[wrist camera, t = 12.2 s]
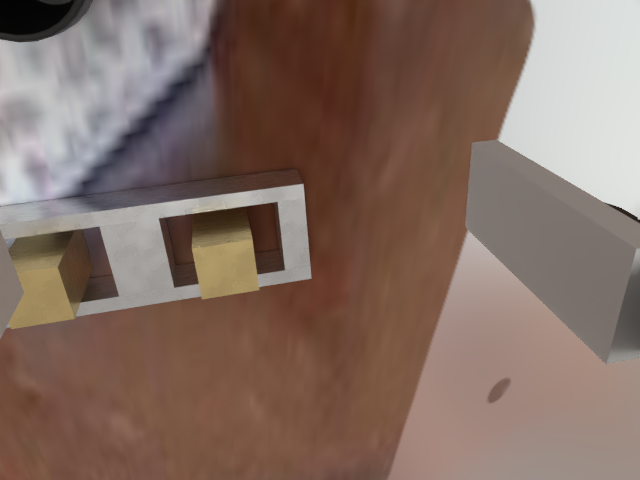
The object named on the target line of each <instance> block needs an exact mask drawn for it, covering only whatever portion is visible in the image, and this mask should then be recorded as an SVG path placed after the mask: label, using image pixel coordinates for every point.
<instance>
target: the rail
mask: <svg viewBox="0 0 640 480" xmlns="http://www.w3.org/2000/svg"><path fill="white" fill-rule="evenodd" d="M273 202H274V210H275V219H276V228H277V236H278V245H279V250H273V251H266V252H260V253H254V255H255V262H256V269H257V277H258V284H259V287H262V286H268V285H274V284H280V283H286V282H293V281H299V280H305V279H311V268H310V256H309V244H308V232H307V221H306V209H305V197H304V185H303V182H302V180H301V178H300V176H299V174H298V172H297V170H296V168H293V169H286V170H278V171H270V172H262V173H255V174H247V175H239V176H231V177H224V178H216V179H208V180H201V181H193V182H185V183H177V184H170V185H162V186H154V187H147V188H139V189H131V190H123V191H116V192H108V193H100V194H92V195H85V196H77V197H69V198H62V199H54V200H46V201H38V202H31V203H23V204H15V205H8V206H0V230H1V233H2V235H3V238H4V240H5V239H13V238H20V237H27V236H34V235H41V234H49V233H56V232H63V231H70V230H78V229H85V228H92V227H100V230H101V234H102V237H103V241H104V245H105V248H106V252H107V255H108V259H109V262H110V266H111V269H112V273H113V275H109V276H102V277H95V278H89V281H88V284H87V286H86V289H85V292H84V295H83V297H82V300H81V303H80V306H79V309H78V311H77V314H76V316H83V315H89V314H95V313H101V312H107V311H113V310H120V309H126V308H132V307H138V306H144V305H150V304H157V303H163V302H169V301H175V300H181V299H188V298H194V297H200V296H201V292H200V287H199V282H198V277H197V272H196V267H195V262H194V263H187V264H181V265H176V263H175V258H174V254H173V249H172V245H171V240H170V235H169V231H168V226H167V222H166V217H171V216H179V215H186V214H193V213H200V212H208V211H215V210H222V209H229V208H236V207H244V206H251V205H258V204H265V203H273ZM8 327H10V325H9V323H8V325H7V327H6V328H8Z"/></svg>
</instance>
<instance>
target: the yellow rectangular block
mask: <svg viewBox="0 0 640 480" xmlns="http://www.w3.org/2000/svg"><path fill="white" fill-rule="evenodd" d="M192 252H193V257H194V262H195V267H196V272H197V277H198V282H199V287H200V292H201V297H202V299H207V298H213V297H219V296H225V295H232V294H238V293H244V292H250V291H256V290H259V284H258V277H257V269H256V262H255V255H254V248H253V241H252V235H251V230H250V225H249V220H248V216H247V211H246V206H244V207H236V208H229V209H222V210H215V211H208V212H200V213H193V225H192Z"/></svg>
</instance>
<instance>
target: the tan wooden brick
mask: <svg viewBox="0 0 640 480" xmlns="http://www.w3.org/2000/svg"><path fill="white" fill-rule="evenodd" d="M8 251H9V254H10V257H11V259H12V262H13V264H14V267H15V270H16V272H17V275H18V278H19V280H20V283H21V285H22V288H23V291H24V294H23V296H22V298H21V300H20V302H19V304H18V306H17V308H16V310H15V311H14V313H13V315H12V317H11V319H10V321H9V325H10V327H11V329H15V328H21V327H27V326H33V325H39V324H45V323H52V322H58V321H64V320H70V319H75V317H76V314H77V311H78V309H79V306H80V303H81V300H82V297H83V295H84V292H85V289H86V286H87V284H88V281H89V278H90V275H91V273H92V270H93V265H92V261H91V258H90V255H89V251H88V248H87V245H86V241H85V238H84V235H83V231H82V229H78V230H70V231H63V232H56V233H49V234H41V235H34V236H27V237H20V238H17V239H16V240H15V242H14V243H13V244H12V246H11V247H10V249H9V250H8Z"/></svg>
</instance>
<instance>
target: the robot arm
mask: <svg viewBox="0 0 640 480" xmlns="http://www.w3.org/2000/svg"><path fill="white" fill-rule="evenodd" d="M465 227H466V228H467V229H468V230H469V231H470V232H471V233H472V234H473V235H474V236H475V237H476V238H477V239H478V240H479V241H480V242H481V243H482V244H483V245H484V246H485V247H486V248H487V249H488V250H489V251H490V252H491V253H492V254H493V255H495V256H496V257H497V258H498V259H499V260H500V261H501V262H502V263H503V264H504V265H505V266H506V267H507V268H508V269H509V270H510V271H511V272H512V273H513V274H514V275H515V276H516V277H517V278H518V279H519V280H520V281H521V282H522V283H523V284H524V285H525V286H526V287H527V288H528V289H529V290H530V291H532V293H534V294H535V295H536V296H537V297H538V298H539V299H540V300H541V301H542V302H543V303H544V304H545V305H546V306H547V307H548V308H549V309H550V310H551V311H552V312H553V313H554V314H555V315H556V316H557V317H558V318H559V319H560V320H561V321H562V322H563V323H564V324H565V325H566V326H568V328H570V329H571V330H572V331H573V332H574V333H575V334H576V335H577V336H578V337H579V338H580V339H581V340H582V341H583V342H584V343H585V344H586V345H587V346H588V347H589V348H590V349H591V350H592V351H593V352H594V353H595V354H596V355H597V356H598V357H599V358H600V359H602V361H603V362H605V364H610V363H615V362H620V361H625V360H630V359H635V358H639V355H640V220H638V218H637V217H636V216H634V215H632V214H631V213H629V212H627V211H625V210H623V209H622V208H619V207H616V206H613V205H610V204H607V203H604V202H602V201H600V200H599V199H597V198H595V197H594V196H591V195H590V194H588V193H587V192H585V191H583V190H581V189H580V188H578V187H576V186H575V185H573V184H571V183H570V182H568V181H566V180H564V179H563V178H561V177H559V176H558V175H556V174H554V173H552V172H551V171H549V170H547V169H545V168H544V167H542V166H540V165H538V164H537V163H535V162H534V161H532V160H530V159H528V158H527V157H525V156H523V155H521V154H520V153H518V152H516V151H515V150H513V149H511V148H510V147H508V146H506V145H504V144H503V143H501V142H499V141H498V140H492V141H483V142H475V143H472V152H471V164H470V175H469V187H468V199H467V211H466V223H465ZM23 294H24V291H23V288H22V285H21V283H20V280H19V278H18V275H17V272H16V270H15V267H14V264H13V262H12V259H11V257H10V254H9V251H8V249H7V246H6V243H5V241H4V238H3V235H2V233H1V230H0V339H1V337H2V335H3V333H4V331H5V329H6V327H7V325H8V323H9V321H10V319H11V317H12V315H13V313H14V311H15V310H16V308H17V306H18V304H19V302H20V300H21V298H22V296H23Z"/></svg>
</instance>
